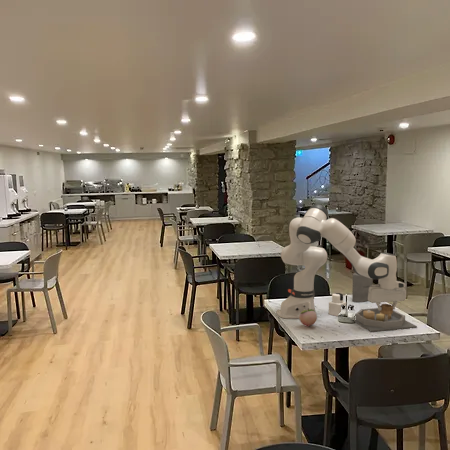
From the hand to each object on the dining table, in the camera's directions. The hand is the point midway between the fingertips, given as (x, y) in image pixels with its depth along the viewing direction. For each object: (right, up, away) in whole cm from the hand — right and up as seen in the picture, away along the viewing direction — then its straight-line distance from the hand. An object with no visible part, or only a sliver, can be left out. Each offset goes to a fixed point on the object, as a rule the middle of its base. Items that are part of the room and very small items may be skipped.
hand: (386, 309), depth 235 cm
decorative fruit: (-41, -9, 0) cm, 42 cm away
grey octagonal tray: (-1, -8, +7) cm, 10 cm away
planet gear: (0, -2, 0) cm, 2 cm away
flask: (+2, -3, +48) cm, 48 cm away
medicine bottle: (-20, -7, +21) cm, 30 cm away
